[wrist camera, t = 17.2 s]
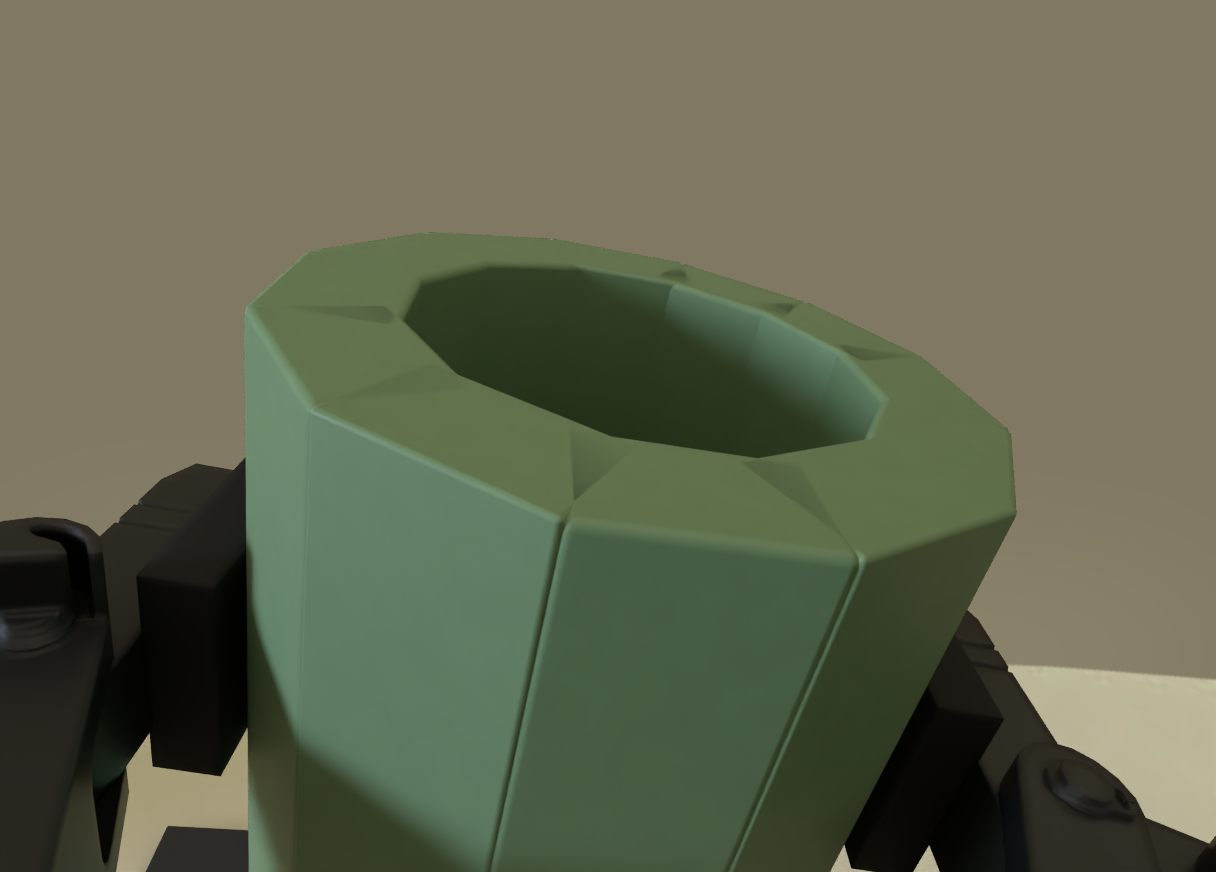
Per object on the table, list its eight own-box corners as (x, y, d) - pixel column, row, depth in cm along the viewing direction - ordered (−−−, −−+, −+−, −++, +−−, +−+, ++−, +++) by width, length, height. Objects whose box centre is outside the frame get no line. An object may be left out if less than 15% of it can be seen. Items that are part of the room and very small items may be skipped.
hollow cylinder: (689, 744, 16) (849, 293, 12) (789, 1221, 10) (1226, 607, 5) (329, 713, 15) (359, 201, 11) (165, 1231, 9) (69, 456, 4)
